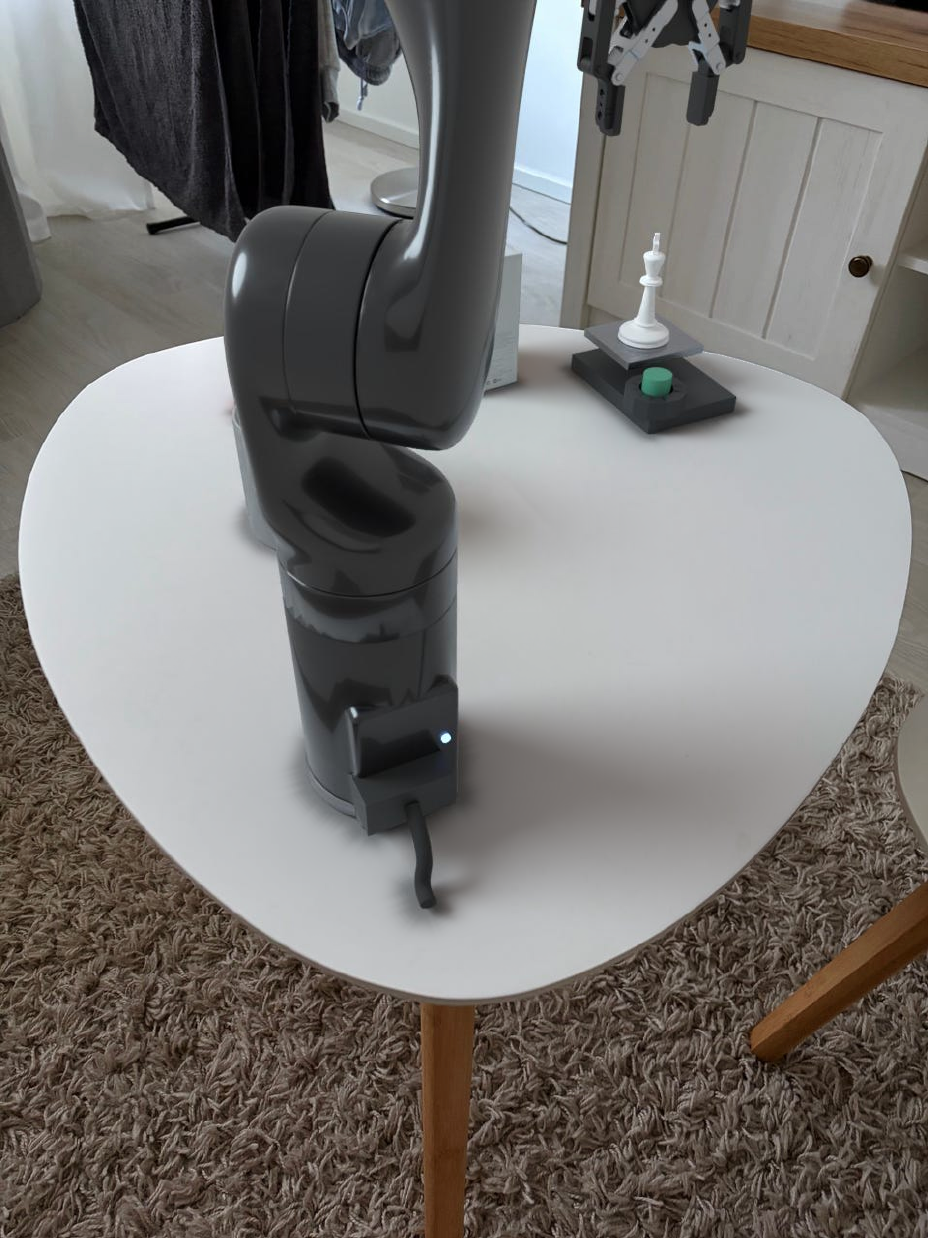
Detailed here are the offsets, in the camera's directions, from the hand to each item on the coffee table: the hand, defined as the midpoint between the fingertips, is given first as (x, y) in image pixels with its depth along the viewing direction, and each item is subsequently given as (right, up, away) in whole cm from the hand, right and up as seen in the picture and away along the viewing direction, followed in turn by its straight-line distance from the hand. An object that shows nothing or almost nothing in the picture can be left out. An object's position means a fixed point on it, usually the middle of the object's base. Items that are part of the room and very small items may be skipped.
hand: (653, 128), depth 81 cm
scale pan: (+2, -13, +15) cm, 21 cm away
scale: (+3, -18, +16) cm, 24 cm away
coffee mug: (-28, -31, +1) cm, 42 cm away
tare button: (+2, -19, +10) cm, 22 cm away
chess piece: (+2, -13, +15) cm, 20 cm away
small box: (-15, -16, +18) cm, 28 cm away
